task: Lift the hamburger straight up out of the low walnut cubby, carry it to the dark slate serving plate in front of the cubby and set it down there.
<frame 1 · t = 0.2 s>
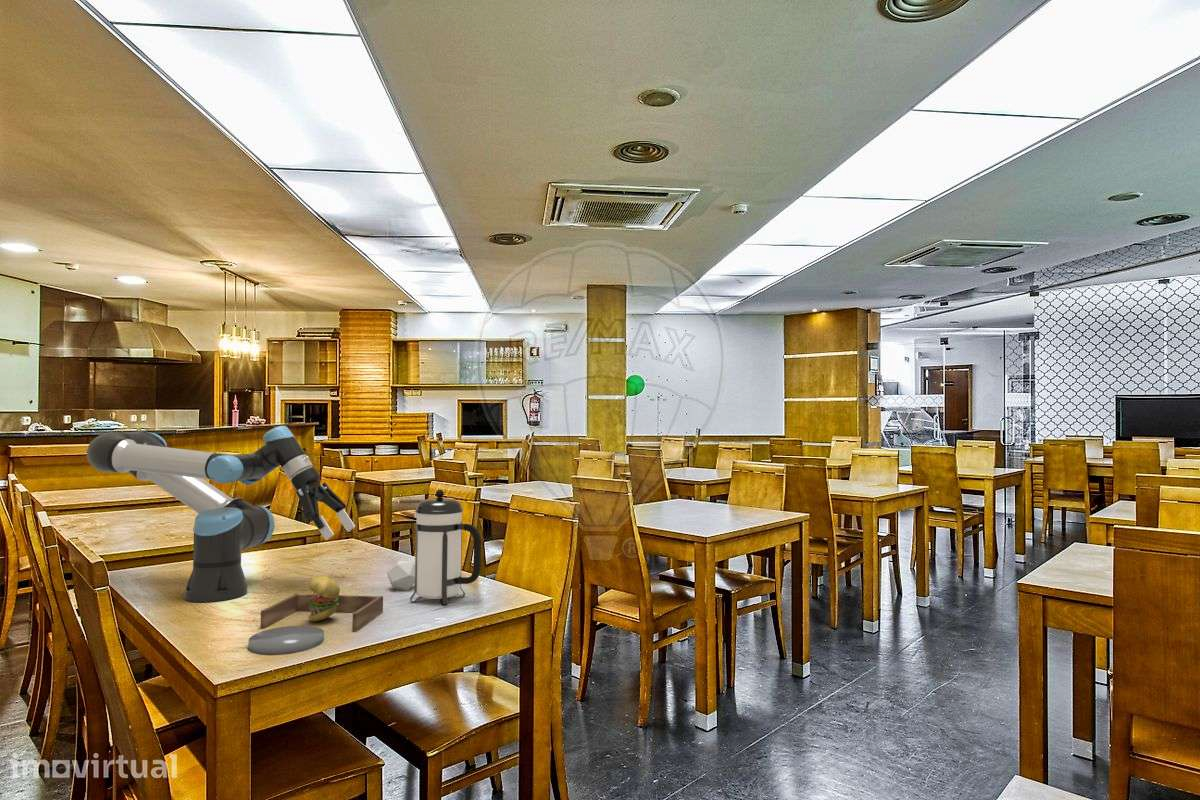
hand: (341, 533, 200), 16 cm above the table, tool tilted 35°, fingers open, 13 cm apart
die: (403, 589, 198), on the table
hamburger: (323, 621, 166), on the table
coffee press: (442, 600, 186), on the table
plate: (286, 642, 149), on the table
cubby: (323, 620, 166), on the table
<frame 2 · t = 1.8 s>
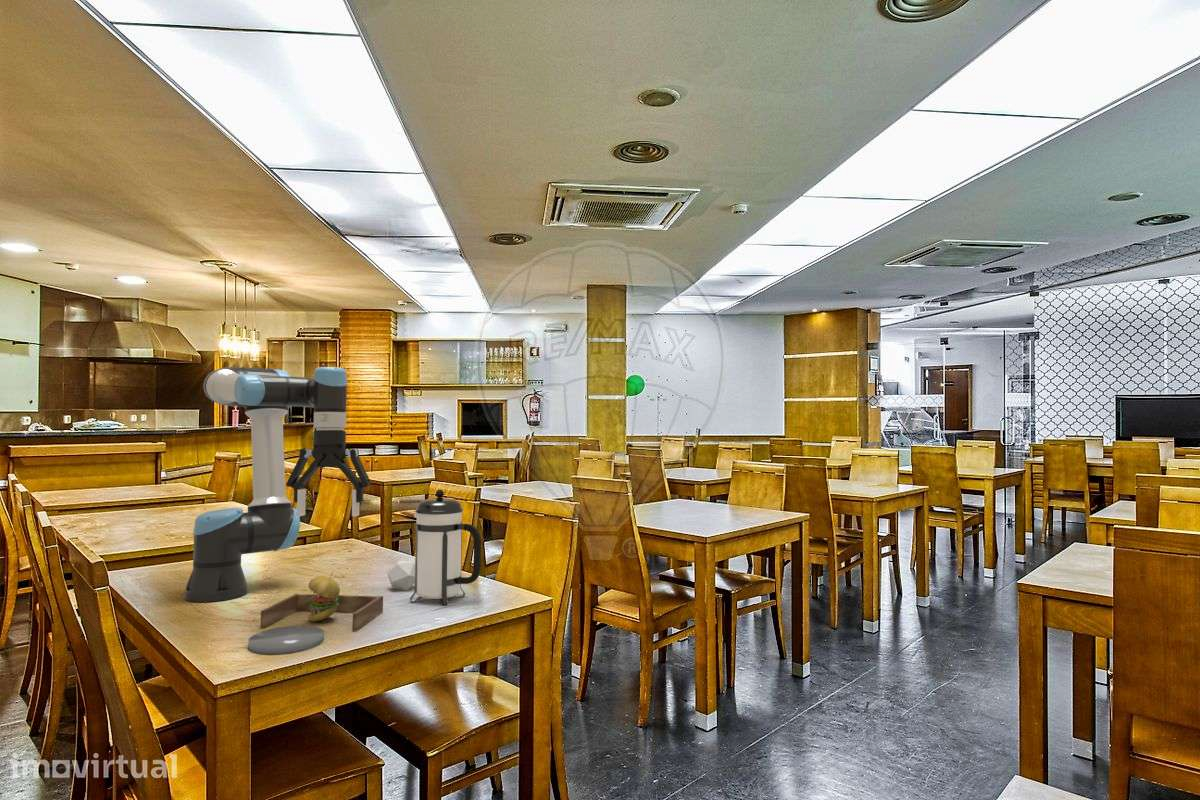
hand: (328, 515, 168), 25 cm above the table, tool pointing down, fingers open, 13 cm apart
nothing on the table moved.
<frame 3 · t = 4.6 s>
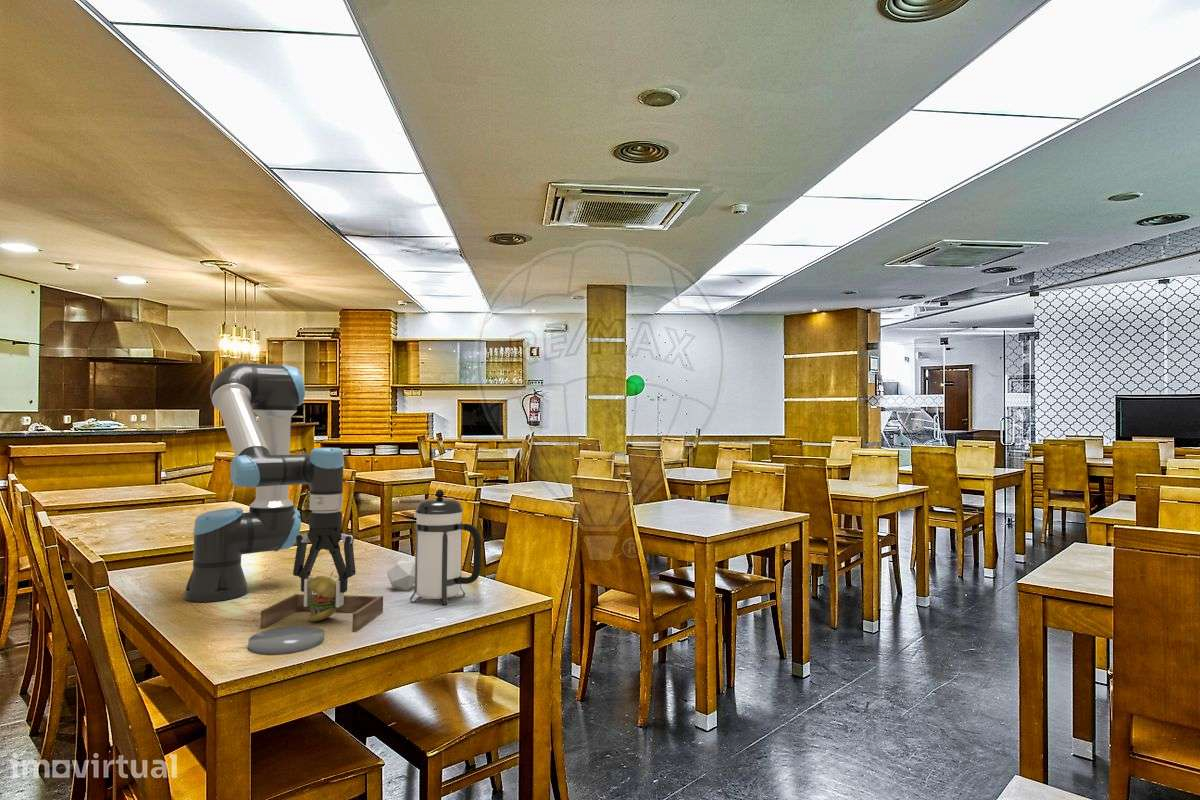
hand: (323, 605, 166), 4 cm above the table, tool pointing down, fingers closed on hamburger, 7 cm apart
hamburger: (323, 621, 166), on the table, touching gripper
everything else where it was.
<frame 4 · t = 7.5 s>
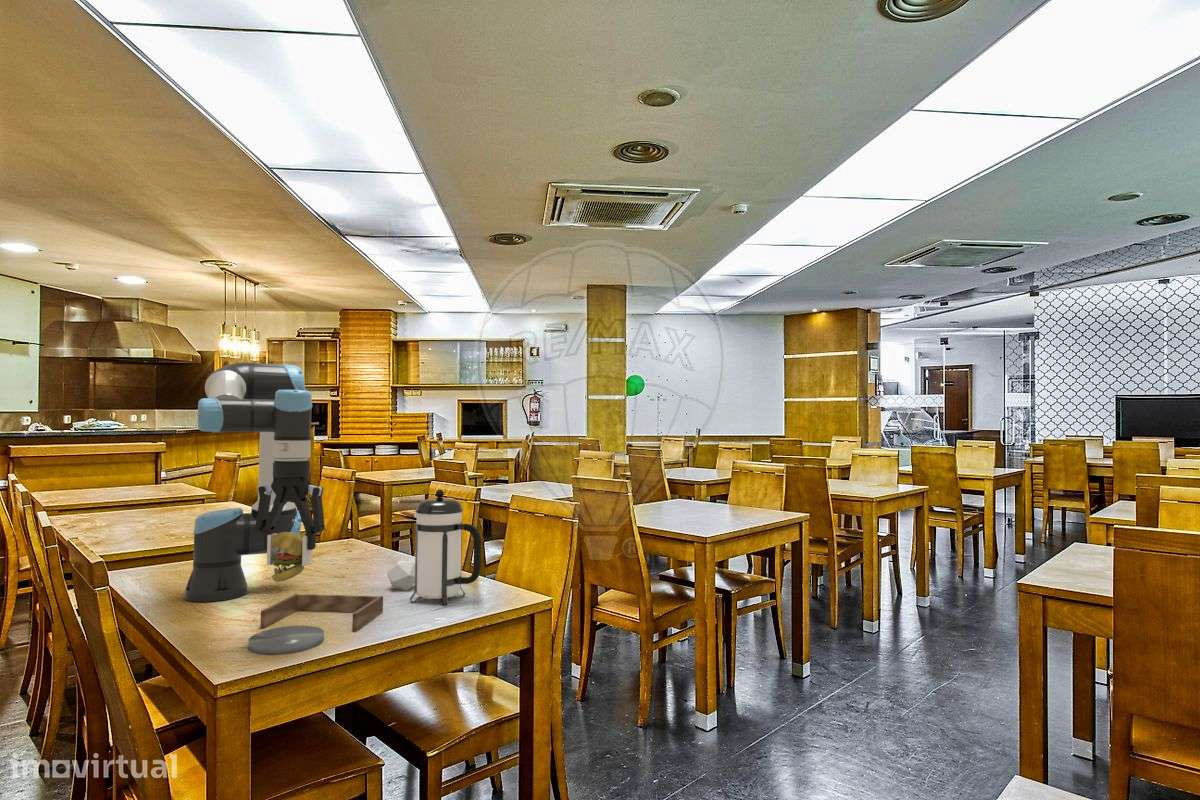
hand: (289, 564, 149), 17 cm above the table, tool pointing down, fingers closed on hamburger, 7 cm apart
hamburger: (288, 581, 149), point 13 cm above the table, touching gripper
everything else where it was.
when the fingers open (6 cm above the table, at t = 10.5 s): hamburger stays where it is, resting on plate.
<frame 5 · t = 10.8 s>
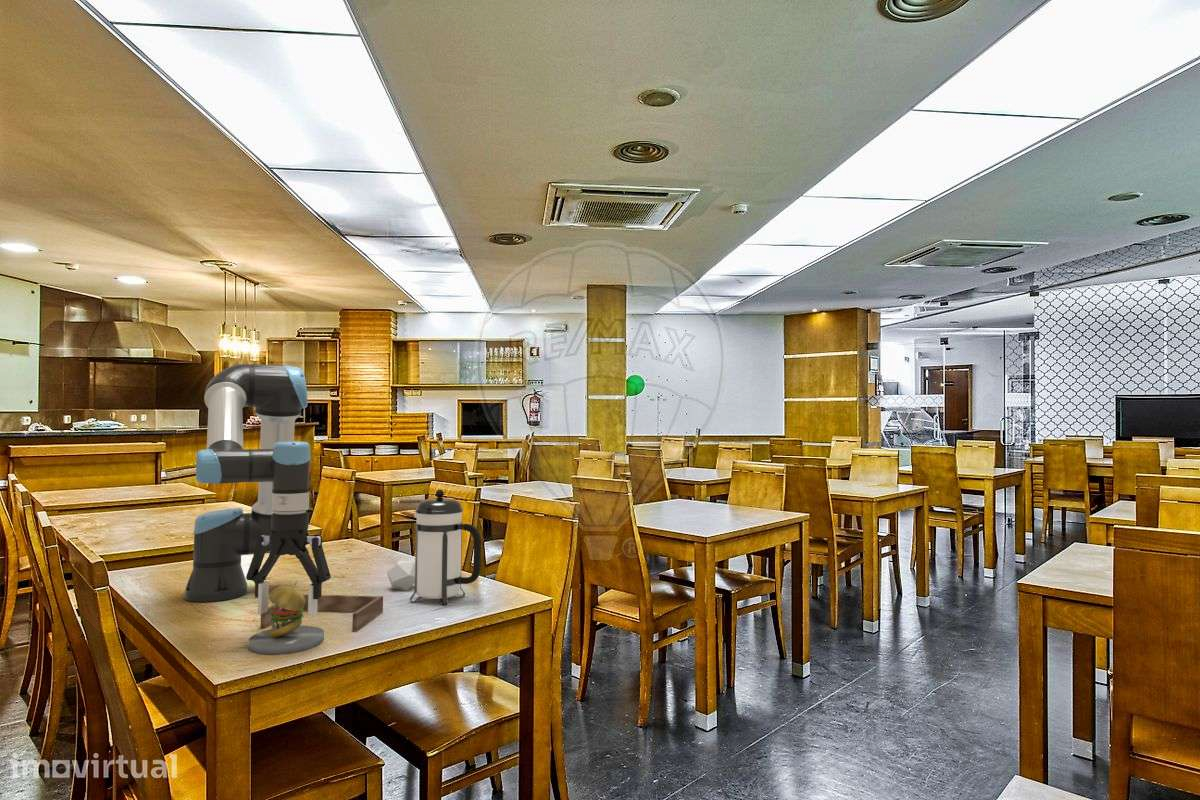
hand: (287, 613, 149), 6 cm above the table, tool pointing down, fingers open, 10 cm apart
hamburger: (286, 636, 149), point 1 cm above the table, touching plate
everything else where it was.
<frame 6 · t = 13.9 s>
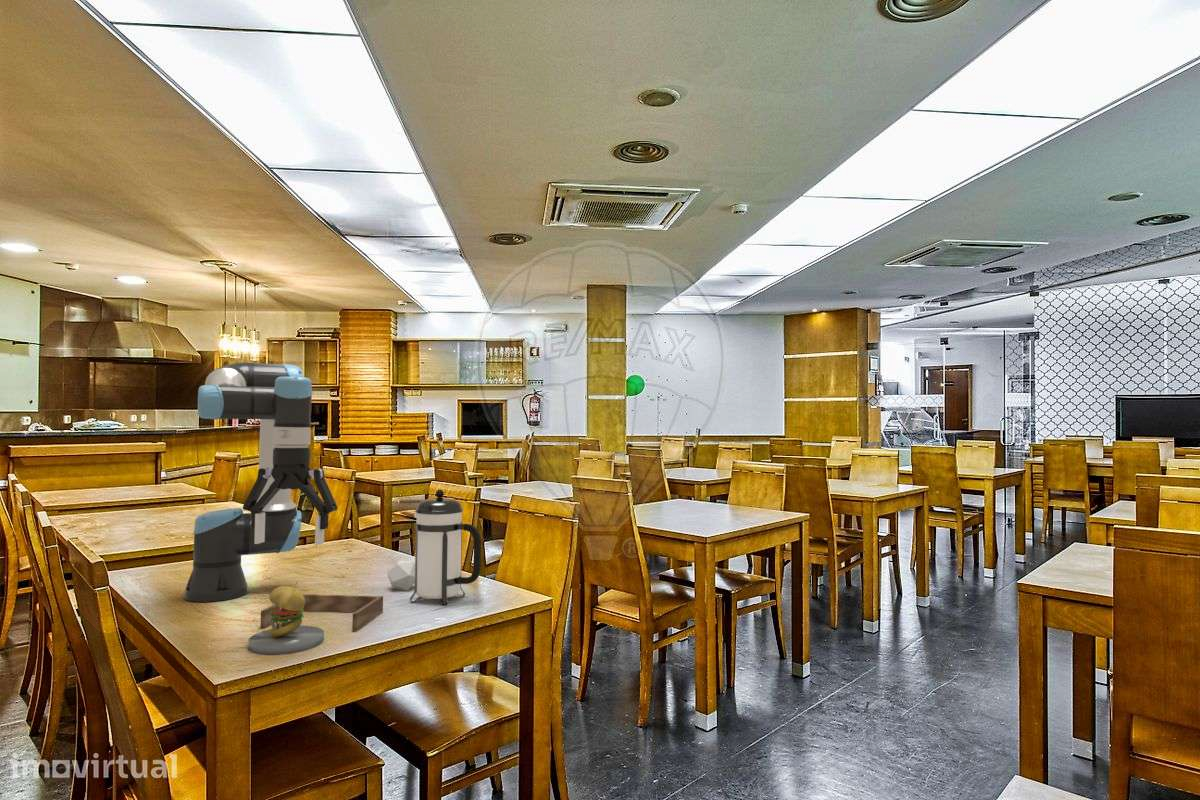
hand: (289, 543, 150), 21 cm above the table, tool pointing down, fingers open, 13 cm apart
nothing on the table moved.
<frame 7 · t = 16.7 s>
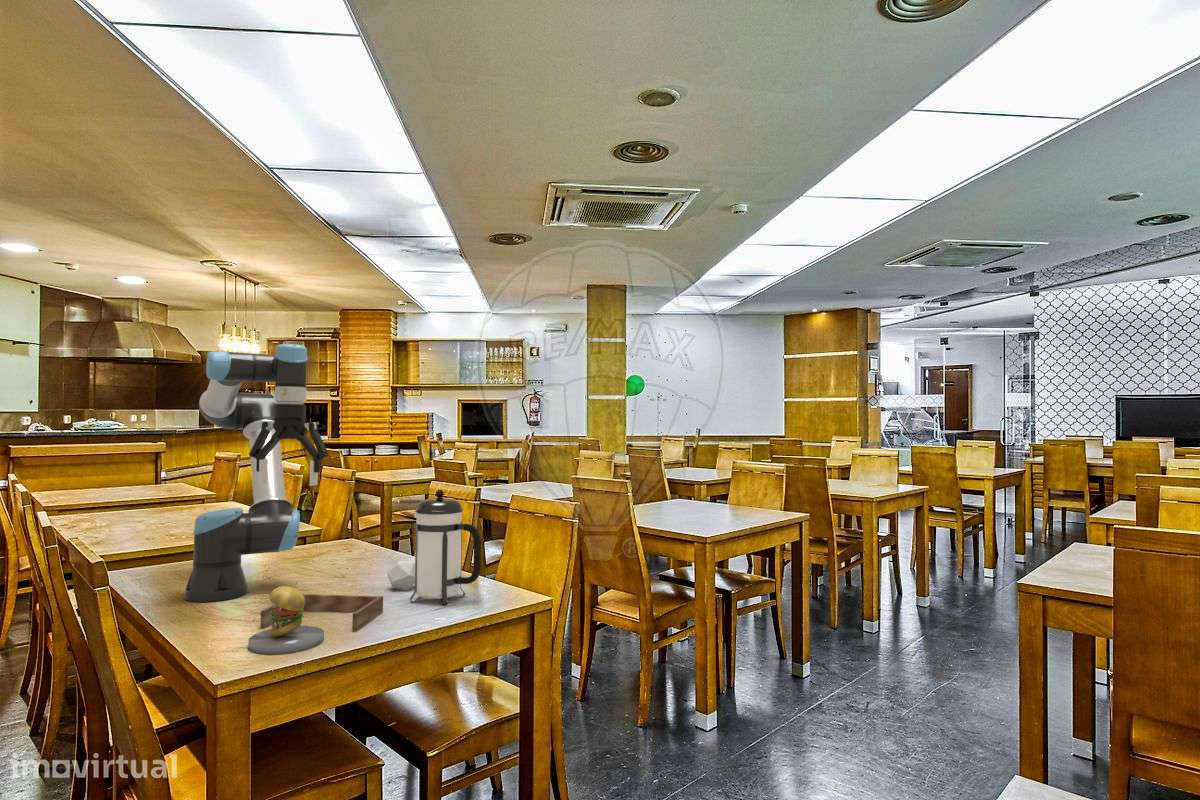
hand: (288, 485, 178), 32 cm above the table, tool pointing down, fingers open, 13 cm apart
nothing on the table moved.
at the end: hamburger inside the target area on the plate (0.2 cm from its centre), point 1.3 cm above the plate's base; hamburger tilted 0°; the gripper is holding nothing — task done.
